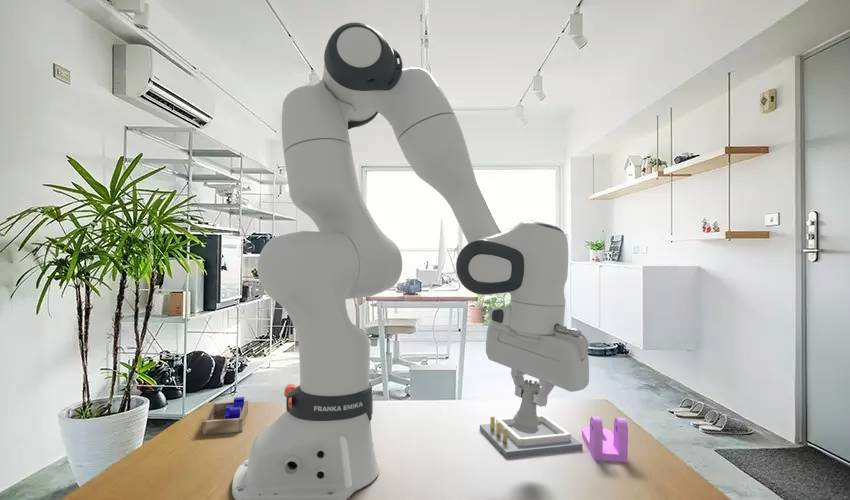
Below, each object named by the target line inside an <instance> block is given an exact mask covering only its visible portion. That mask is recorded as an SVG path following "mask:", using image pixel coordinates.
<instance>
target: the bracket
mask: <svg viewBox="0 0 850 500" xmlns="http://www.w3.org/2000/svg"><path fill="white" fill-rule="evenodd" d="M603 426H604V425H603V421H602V418H601V417H600V416H591V417H590V420H589V425H586V426H584V427H582V428H581V437H582V440H583V441H584V444H585V445H586V447H587V449H588V451H589V453H590V455H591V457H592V459H593V461H603V462H618V463H628V457H629V455H628V452H629V451H628V450H629V446H628V445H629V428H628V422H627V420H626V418H624V417H623V418H622V417H615V418H614V421H613V432H612V430H610V429H609V428H606V427H603Z"/></svg>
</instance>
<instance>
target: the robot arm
mask: <svg viewBox="0 0 850 500" xmlns="http://www.w3.org/2000/svg"><path fill="white" fill-rule="evenodd" d="M324 49H325V50H324V54H323V61H324V64H323V73H322V79H321V80H320V81H319V82H317V83H315V84H310V85H308V84H307V85H303V86H299V87H297V88H294V89H293V90H291V91H290V92H289V93H287V95H286V96H285V97H284V100H283V102H282V103H283V104H282V110H281V141H282V149H283V150H282V151H283V158H284V163H285V164H284V165H285V170H286V171H285V172H286V179H287V185H288V190H289V196H290V199H291V201H292V202H293V203H292V204H294V206H296V207H297V209H298V210H299V211H301V212H303V213H304V214H306V215H307V216H308V217H309V218H310V219H311V220H312V221H313V223H314V224H315V225H316V228H317V229H318V230H319V231H314V230H313V231H311V230H309V231H308V230H302V231H301V230H300V231H295V232H291V233H290V232H289V233H285V234H281V235H278V236H274V237H272V238H270V239H269V240H268V241H267V242H266V243H265V245H264V246H263V248H262V249H261V252H260V254H259V257H258V262H257V275H258V279H259V283H260V284H261V287H262V289H263V291H264V292H265V294H267V296H268V297H270V298H271V299H272V300H273V301H275V302H276V304H277V303H278V304H279V305H280V306H281V307H282V308H283V309H284V311H285V312H286V313H287V315H288V317H289V319H290V320H291V323H292V324H293V326H294V327H293V328H294V330H295V333H296V337H297V342H298V353H299V355H298V356H299V385H298V386H297V385H295V384H293V383H289V384H286V386H285V387H284V393H283V395H284V397H285V398H286V401H285V402H286V403H285V404H286V405H285V406H286V408H285V409H286V411H285V412H284V413H283V414H281V415H280V416H279V417H278V418H276V419H275V420H273V421H272V422H271V423H270V424H268V425H267V426H266V427H265V428H263V429H262V430H261V431H260V432H258V434H257V435H256V437H255V438H254V441H253V443H252V444H251V448H250V451H249V454H248V458H247V459H246V460H244V461H243V462H242V463H241V464H240V465H239V466H238V467H237V469H236V470H235V472H234V475H233V479H232V484H231V485H232V486H231V494H232V497H233V499H234V500H348V499H349V498H350V497H351V496H353V494H354V493H355V492H356V491H358V490H360V489H362V488H364V487H367V486H369V484H371V483H372V482H373V481H375V480H376V478H377V476H378V475H379V472H380V467H379V464H378V462H377V458H376V457H377V456H376V453H375V448H374V441H373V433H372V425H371V422H372V418H373V414H374V413H373V407H374V391H373V387H372V384H371V382H370V372H371V371H370V366H371V365H370V361H371V360H370V358H371V352H370V351H371V350H370V349H371V344H370V343H371V342H370V338H369V336H368V334H367V333H366V332H365V331H364V330H363V328H361V327H359V326H357V325H356V324H355V323H353V322H352V321H351V319H350V317H349V315H348V311H347V303H346V300H351V299H360V298H369V297H373V296H375V295H377V294H378V295H379V294H380V293H383V292H386V291H388V290H390V289H392V288H393V287H394V286H395V285H396V284H397V283H398V282H399V280H400V279H401V276H402V271H403V258H402V254H401V250H400V249H399V247H398V246H397V244H396V243H395V242H394V241H393V240H392V239H390V237H388V236H387V235H386V234H385V233H384V232H383V231H382V230H381V228H379V226H378V224H377V222H376V221H375V220H374V218H373V216H372V215H371V213H370V211H369V209H368V207H367V205H366V202H365V201H364V198H363V196H362V194H361V193H362V192H361V191H360V186H359V183H358V178H357V173H356V168H355V162H354V157H353V150H352V147H351V146H352V145H351V139H350V134H349V130H350V129H354V128H359V127H362V126H364V125H367V124H369V123H370V122H372V121H373V120H374V119H375V118H376V116H377V115H378V114H379V115H381V116H382V117H383V118H385V120H386V121H387V122H388V123H389V125H390V126H391V127H392V130H393V133H394V136H395V139H396V141H397V143H398V145H399V148H400V150H401V152H402V154H403V156H404V157H405V160H406V161H407V163H408V164H409V166H410V168H411V169H412V171H413V172H414V173H415V174H416V175H417V176H418V178H420V179H421V180H422V181H423V182H425V183H426V184H427V185H429V186H430V187H432V188H433V189H434V190H436V191H437V192H438V193H439V194H440V196H442V197H443V198H444V200H445V201H446V202H447V203H448V205H449V207H450V208H451V210H452V213H453V215H454V216H455V219H456V220H457V223H458V225H459V226H460V229H461V231H462V233H463V235H464V237H465V239H466V242H467V244H466V245H465V246H464V247H463V248H462V249H461V250H460V252H459V253H458V256H457V258H456V263H455V264H456V265H455V269H456V271H455V272H456V274H457V277H458V280H459V281H460V283H461V284H462V286H463V287H464V288H465V289H467V290H468V291H470V292H471V293H473V294H477V295H481V296H492V295H495V294H496V295H497V294H505V293H507V294H508V293H509V294H510V305H506V306H500V307H495V308H491V309H489V311H488V320H489V321H490V323H489V324H488V327H487V330H486V338H485V339H486V340H485V353H486V356H487V359H488V360H490V361H491V362H494V363H497V364H499V365H501V366H504V367H507V368H509V369H511V370H510V376H511V379H512V380H513V384H514V386H515V387H514V390H515V391H514V395H515V397H519V398H521V399H522V394H523V392H524V390H523V387H522V385H523V384H524V383H525V377H524V376H525V375H527V376H529V377H533V378H535V379H538V380H539V382H538V383H539V386H540V388H541V389H540V391H539V393H534V396H533V398H534V400H533V403H534V404H536V406H539V407H546V406H547V404H548V397H549V395H550V393H551V392H552V391H553V389H554V388H555V387H558V388H561V389H563V390H565V391H568V392H578V391H579V392H580V391H583V390H584V389H586V388H587V386H589V383H590V364H589V363H590V361H589V341H588V339H587V337H586V336H585V335H584V334H583V333H582V331H581V330H579V329H578V328H570V327H568V326H566V325H564V324H565V313H566V312H565V311H566V298H565V292H564V291H565V285H566V282H567V279H568V273H569V272H568V271H569V241H568V238H567V235H566V234H565V232H564V231H563V230H562V229H561V228H559V227H558V226H556V225H552V224H550V223H546V222H540V221H536V220H532V219H526V220H521V221H520V222H519V223H517V224H516V225H514V226H513V227H510V228H509V229H507V230H504V231H501V230H500V229H499V227H498V225H497V222H496V221H495V219H494V217H493V215H492V213H491V211H490V209H489V206H488V204H487V203H486V201H485V198H484V195H483V194H482V192H481V190H480V187H479V185H478V183H477V179H476V175H475V172H474V168H473V166H472V165H473V164H472V162H471V158H470V154H469V151H468V146H467V143H466V139H465V137H464V134H463V131H462V128H461V125H460V123H459V121H458V118H457V115H456V114H455V112H454V109H453V108H452V105H451V104H450V102H449V100H448V98H447V96H446V95H445V93H444V91H443V89H442V88H441V86H440V85H439V84H438V82H437V81H436V79H435V78H434V76H433V75H432V74H431V73H430V72H429V71H428V70H426V69H424V68H421V67H407V68H404V67H403V65H404V64H403V59H402V56H401V55H400V53H399V52H398V51H397V50H396V49H394V48H393V47H391V45H390V43H389V42H388V41H387V39H386V38H385V37H384V36H383V34H381V33H380V32H379V31H378V30H377V29H376V28H373V27H372V26H370V25H368V24H365V23H362V22H349V23H344V24H342V25H341V26H339V27H337V28H336V29H335V30H334V31H333V32H332V34H331V36H330V38H329V39H328V41H327V43H326V46H325V48H324Z"/></svg>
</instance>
